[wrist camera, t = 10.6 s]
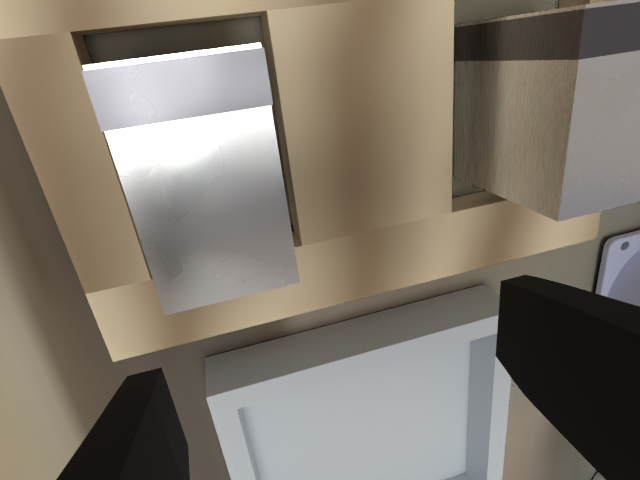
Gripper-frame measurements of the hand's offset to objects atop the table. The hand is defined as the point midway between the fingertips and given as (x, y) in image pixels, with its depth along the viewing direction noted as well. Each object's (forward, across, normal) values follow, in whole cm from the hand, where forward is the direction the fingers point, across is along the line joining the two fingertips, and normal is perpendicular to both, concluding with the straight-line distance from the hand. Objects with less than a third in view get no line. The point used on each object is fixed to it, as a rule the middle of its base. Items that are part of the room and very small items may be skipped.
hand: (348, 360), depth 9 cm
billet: (+9, -10, -3) cm, 14 cm away
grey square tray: (+9, -3, +13) cm, 16 cm away
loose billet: (+9, +2, -3) cm, 10 cm away
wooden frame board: (+9, -4, -3) cm, 11 cm away
